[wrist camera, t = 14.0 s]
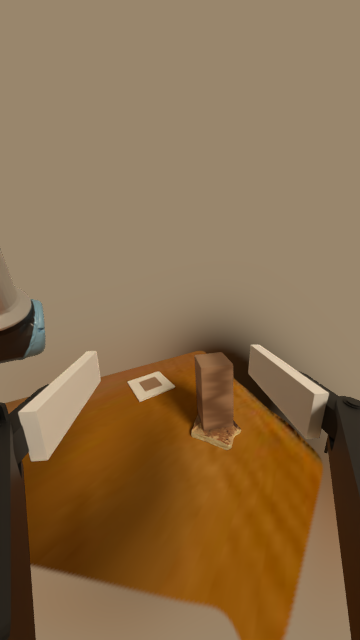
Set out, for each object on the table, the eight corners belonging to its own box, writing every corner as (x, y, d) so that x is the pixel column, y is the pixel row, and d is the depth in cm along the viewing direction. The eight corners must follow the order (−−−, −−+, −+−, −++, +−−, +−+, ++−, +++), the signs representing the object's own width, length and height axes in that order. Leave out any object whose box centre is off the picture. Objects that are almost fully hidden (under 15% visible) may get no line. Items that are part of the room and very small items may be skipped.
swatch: (127, 382, 44) (127, 380, 44) (158, 372, 49) (158, 370, 49) (139, 402, 36) (139, 400, 36) (175, 387, 41) (175, 385, 41)
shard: (208, 399, 38) (208, 392, 37) (244, 409, 34) (245, 401, 34) (189, 439, 28) (189, 430, 28) (237, 458, 25) (237, 448, 24)
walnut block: (203, 430, 28) (200, 368, 25) (197, 409, 32) (194, 355, 30) (233, 426, 28) (233, 364, 26) (222, 405, 33) (221, 352, 31)
